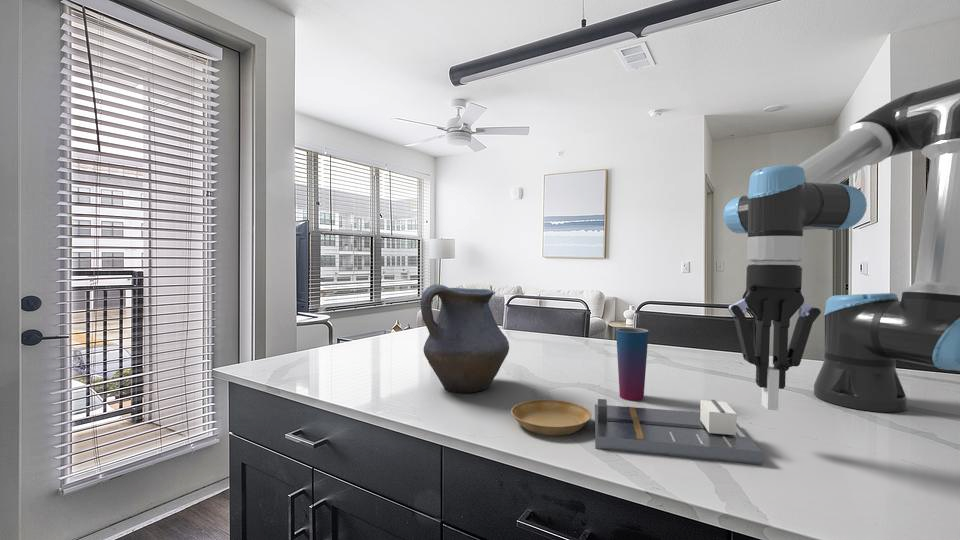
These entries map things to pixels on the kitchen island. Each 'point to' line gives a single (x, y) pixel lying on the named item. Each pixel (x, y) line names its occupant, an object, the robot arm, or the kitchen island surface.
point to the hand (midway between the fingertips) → (769, 407)
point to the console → (669, 434)
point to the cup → (632, 362)
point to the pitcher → (463, 338)
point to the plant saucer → (551, 416)
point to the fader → (718, 417)
